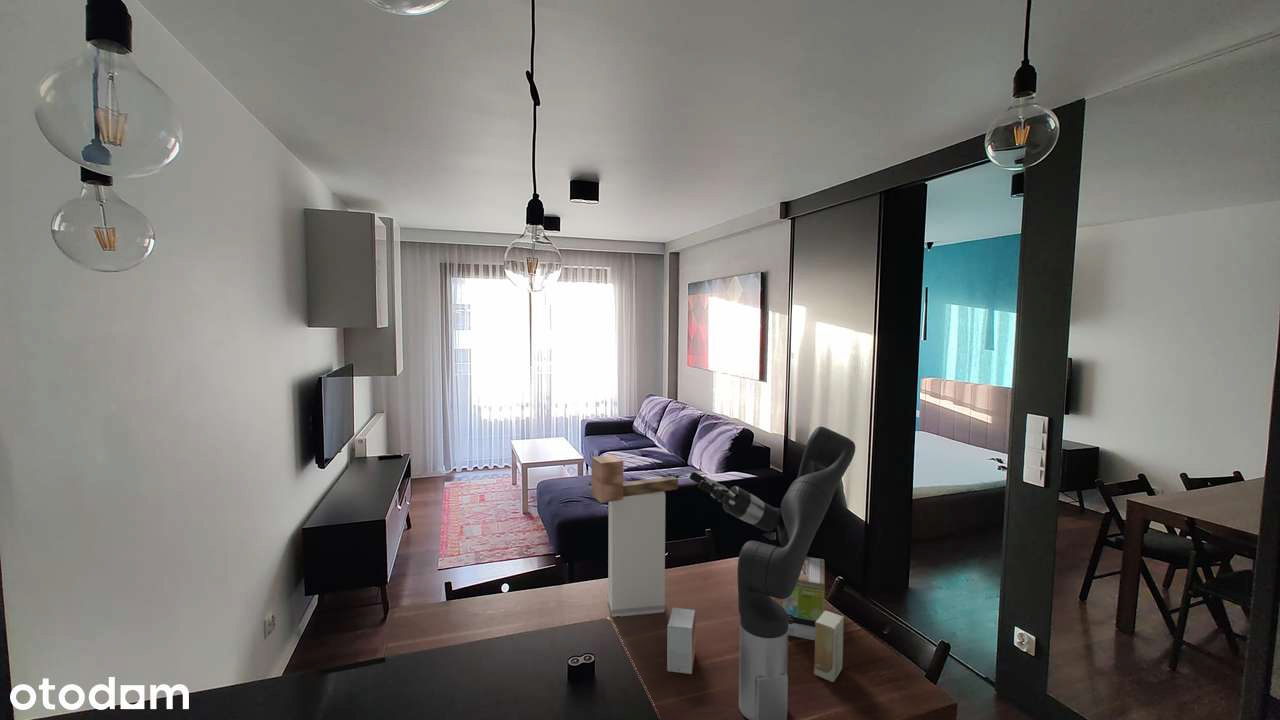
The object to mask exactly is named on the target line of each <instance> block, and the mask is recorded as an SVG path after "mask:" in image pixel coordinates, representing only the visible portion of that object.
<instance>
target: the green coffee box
mask: <svg viewBox="0 0 1280 720" xmlns="http://www.w3.org/2000/svg"><path fill="white" fill-rule="evenodd" d="M825 566H826V565H825V559H823V558H816V557H810V556H806V559H805V561H804V564H803V567H802V570H801V573H800V576H799V579H798V581H797V584H796V586H795V588H794V590H793V592H792V594H791V595H790V596H789V597H788V598H786V599H782V602H781V603H782V605H781V606H782V607H783V608H784V609H785V611H786V612H787V615H788V636H789V637H795V638H799V639H800V638H801V639H805V640H811V641H815V622H816V620H817V619H818V618H819V616H820V615H821V614H822V613H823V612H824V611H825V609H824V608H825V587H826V583H825V582H826V581H825V580H826V576H825V570H826V569H825V568H826V567H825Z"/></svg>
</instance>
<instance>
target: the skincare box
mask: <svg viewBox="0 0 1280 720" xmlns="http://www.w3.org/2000/svg"><path fill="white" fill-rule="evenodd" d="M844 622H845V621H844V616H843V615H840V614H837V613H835V612H832V611H829V610H825V609H824V612H823V613H822V614H821V615H820V616H819V618H818V619H817V620H816V622H815V640H814V661H813V662H814V663H813V664H814V666H813V669H814V670H813V674H814V675H815V676H818V677H820V678H822V679H824V680H826V681H829V682H831V683H834V682H835V681H836V680H837V678H838V676H839V674H840V672H842V669H843V661H844V659H843V657H844V656H843V652H844Z"/></svg>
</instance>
